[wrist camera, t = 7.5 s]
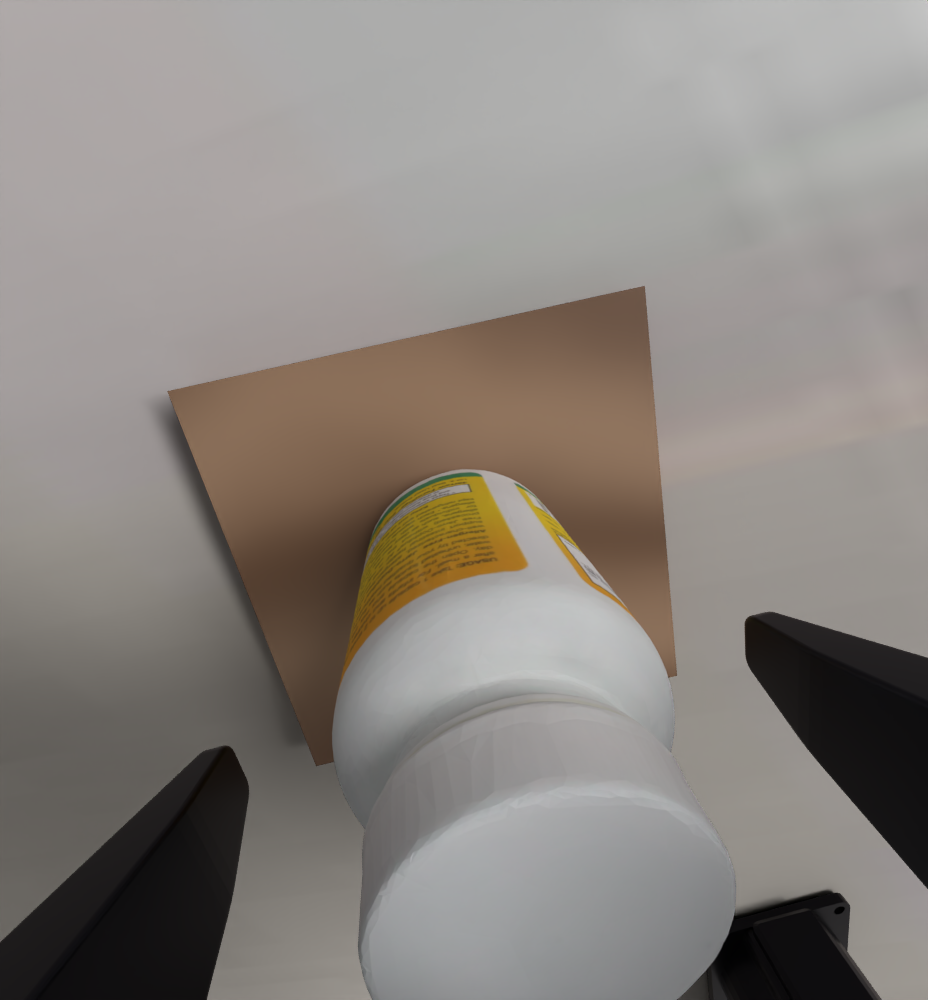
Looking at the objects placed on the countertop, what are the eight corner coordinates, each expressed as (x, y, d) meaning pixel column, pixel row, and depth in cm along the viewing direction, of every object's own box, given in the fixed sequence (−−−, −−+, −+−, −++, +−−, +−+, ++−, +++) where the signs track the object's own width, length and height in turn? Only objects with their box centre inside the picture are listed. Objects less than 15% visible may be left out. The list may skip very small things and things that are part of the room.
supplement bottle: (581, 493, 14) (908, 783, 5) (518, 653, 15) (680, 1108, 6) (395, 439, 13) (368, 679, 4) (345, 616, 14) (239, 1097, 5)
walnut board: (659, 653, 17) (676, 675, 16) (322, 737, 17) (316, 766, 16) (624, 290, 14) (644, 285, 12) (188, 386, 13) (167, 391, 12)
